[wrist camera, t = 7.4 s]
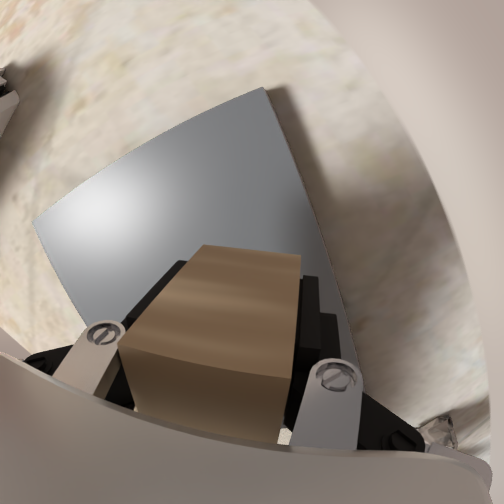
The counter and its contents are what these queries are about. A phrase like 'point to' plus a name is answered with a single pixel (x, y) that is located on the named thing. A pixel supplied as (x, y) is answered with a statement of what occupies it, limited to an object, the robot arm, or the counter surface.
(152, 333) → the wooden block with hole
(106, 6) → the counter surface
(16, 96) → the white slotted curved device
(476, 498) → the robot arm
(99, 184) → the plate
